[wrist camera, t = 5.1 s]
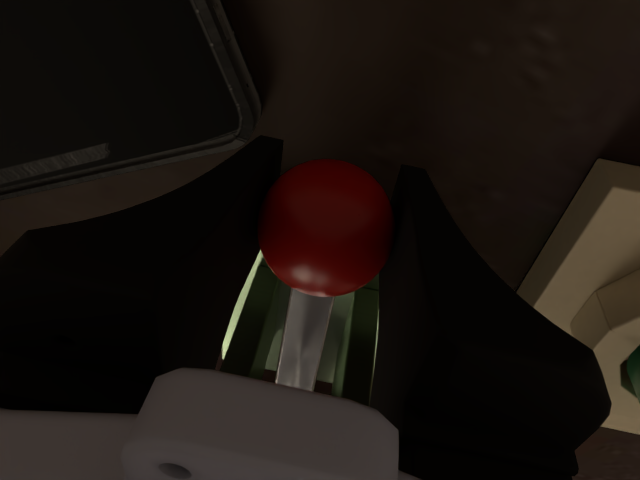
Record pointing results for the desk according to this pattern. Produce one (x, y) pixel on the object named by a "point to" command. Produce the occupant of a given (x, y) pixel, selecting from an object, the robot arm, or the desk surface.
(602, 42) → the desk surface
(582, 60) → the desk surface
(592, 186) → the switch plate
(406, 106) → the desk surface
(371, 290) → the switch bracket
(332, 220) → the switch lever
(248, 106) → the phone
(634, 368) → the button
